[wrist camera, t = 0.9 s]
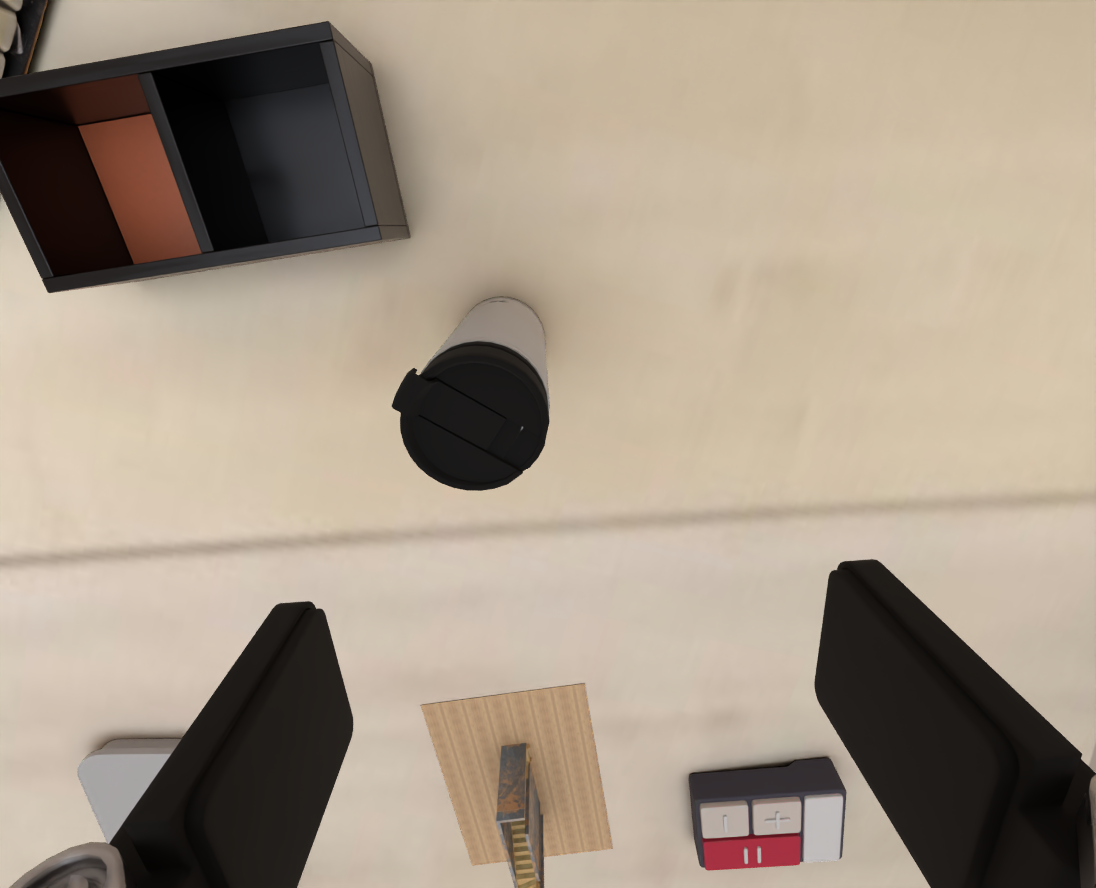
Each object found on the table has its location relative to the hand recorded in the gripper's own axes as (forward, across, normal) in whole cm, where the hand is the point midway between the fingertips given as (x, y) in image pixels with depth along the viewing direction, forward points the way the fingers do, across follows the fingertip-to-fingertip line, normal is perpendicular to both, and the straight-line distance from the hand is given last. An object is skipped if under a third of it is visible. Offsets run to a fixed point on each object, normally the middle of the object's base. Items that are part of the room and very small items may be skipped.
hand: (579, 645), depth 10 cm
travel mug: (+33, +3, 0) cm, 33 cm away
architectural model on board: (+33, +6, +47) cm, 58 cm away
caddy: (+33, +19, -12) cm, 40 cm away
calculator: (+33, -20, +52) cm, 65 cm away
